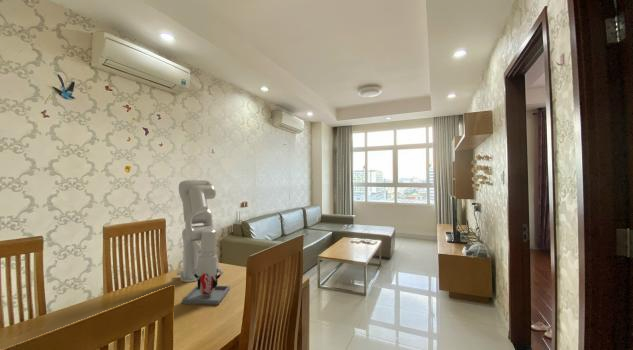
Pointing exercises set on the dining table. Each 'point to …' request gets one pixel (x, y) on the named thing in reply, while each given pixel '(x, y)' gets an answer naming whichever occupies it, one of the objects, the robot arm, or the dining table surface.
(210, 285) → the soda can
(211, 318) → the dining table surface
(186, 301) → the tray
